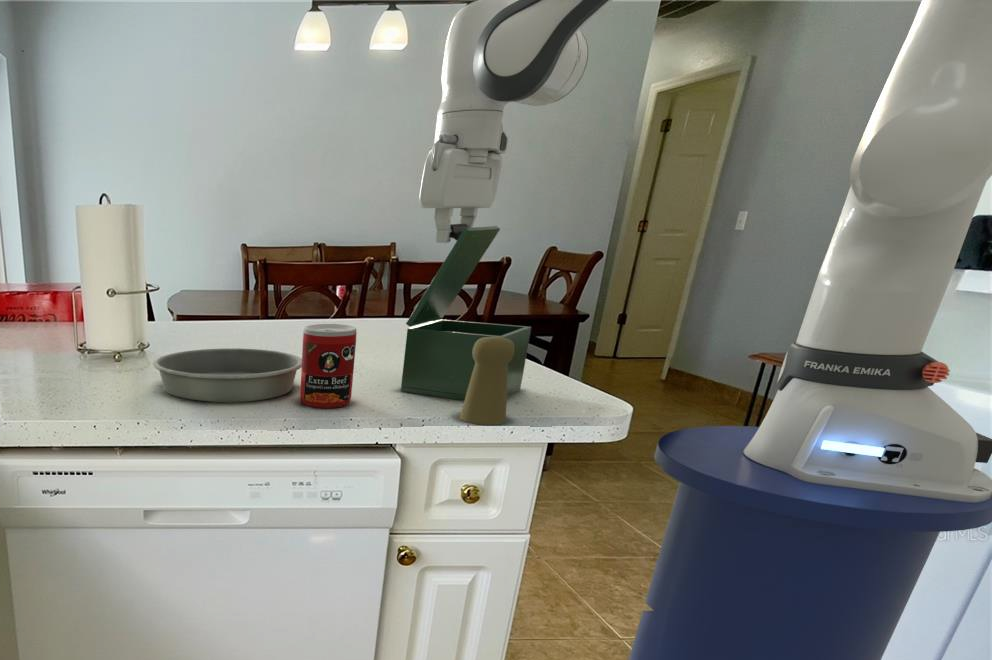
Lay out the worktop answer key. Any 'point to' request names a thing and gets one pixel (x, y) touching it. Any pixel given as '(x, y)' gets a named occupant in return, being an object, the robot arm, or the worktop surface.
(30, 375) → the worktop surface
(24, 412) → the worktop surface
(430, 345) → the waste bin
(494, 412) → the tan pawn
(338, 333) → the canned food
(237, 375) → the cake pan
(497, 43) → the robot arm
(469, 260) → the bin lid
